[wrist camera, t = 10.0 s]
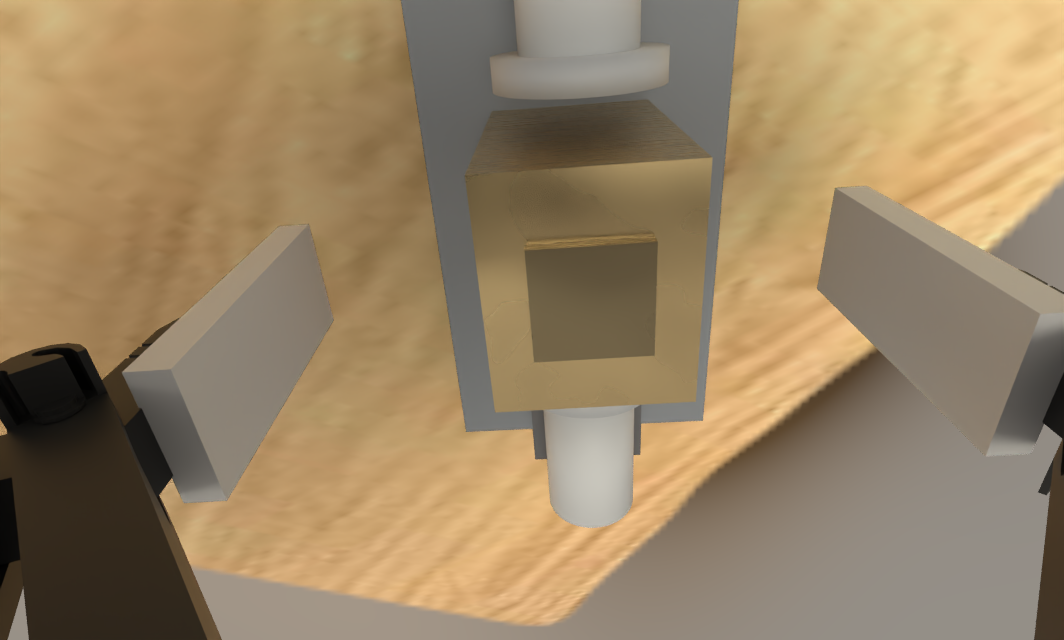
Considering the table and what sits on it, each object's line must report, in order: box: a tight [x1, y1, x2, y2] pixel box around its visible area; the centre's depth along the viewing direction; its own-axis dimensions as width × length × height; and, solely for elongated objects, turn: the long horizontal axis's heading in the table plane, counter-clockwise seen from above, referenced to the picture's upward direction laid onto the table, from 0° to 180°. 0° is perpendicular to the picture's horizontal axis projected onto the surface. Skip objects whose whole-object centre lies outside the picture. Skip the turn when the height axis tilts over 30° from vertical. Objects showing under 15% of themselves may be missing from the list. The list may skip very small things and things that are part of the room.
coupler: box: [465, 99, 713, 413], centre depth 17 cm, size 5×6×8 cm
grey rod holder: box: [401, 0, 739, 528], centre depth 18 cm, size 10×20×8 cm, turn 4°
